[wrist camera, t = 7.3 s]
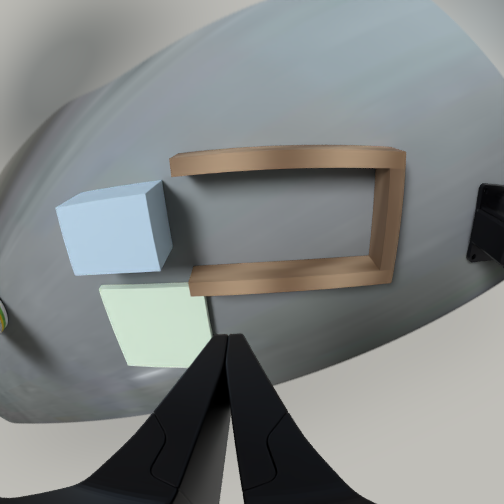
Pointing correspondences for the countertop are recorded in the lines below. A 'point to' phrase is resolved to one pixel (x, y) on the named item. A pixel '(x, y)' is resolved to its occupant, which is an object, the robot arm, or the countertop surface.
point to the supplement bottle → (3, 317)
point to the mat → (158, 323)
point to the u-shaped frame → (310, 270)
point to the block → (117, 229)
